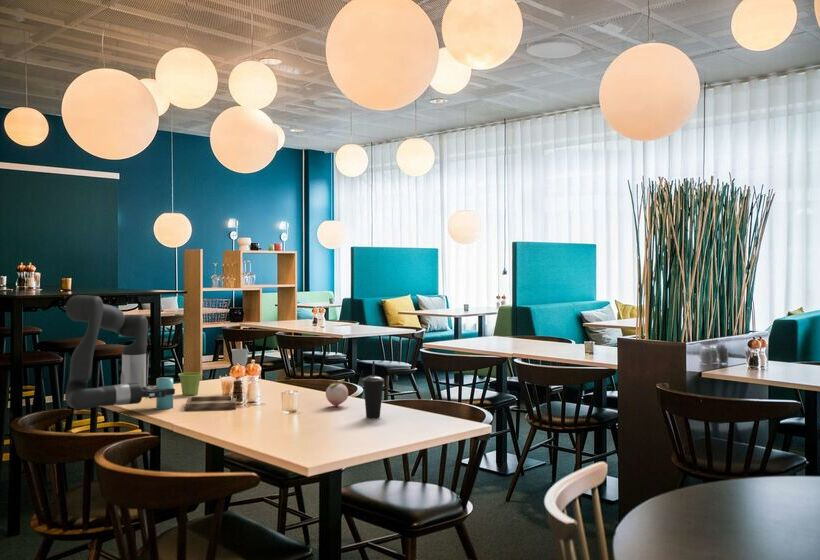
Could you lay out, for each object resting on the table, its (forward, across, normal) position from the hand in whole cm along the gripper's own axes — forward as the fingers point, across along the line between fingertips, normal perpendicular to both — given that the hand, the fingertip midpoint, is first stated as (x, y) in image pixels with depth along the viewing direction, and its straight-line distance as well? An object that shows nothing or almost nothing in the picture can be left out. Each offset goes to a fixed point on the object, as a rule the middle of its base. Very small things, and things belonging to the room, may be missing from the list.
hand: (170, 390), depth 281 cm
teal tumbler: (-2, 0, +6) cm, 7 cm away
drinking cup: (+50, -60, +7) cm, 79 cm away
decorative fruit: (+52, -35, +7) cm, 63 cm away
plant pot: (+18, +24, +7) cm, 30 cm away
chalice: (+38, +19, +7) cm, 43 cm away
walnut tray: (+13, -7, +6) cm, 16 cm away
